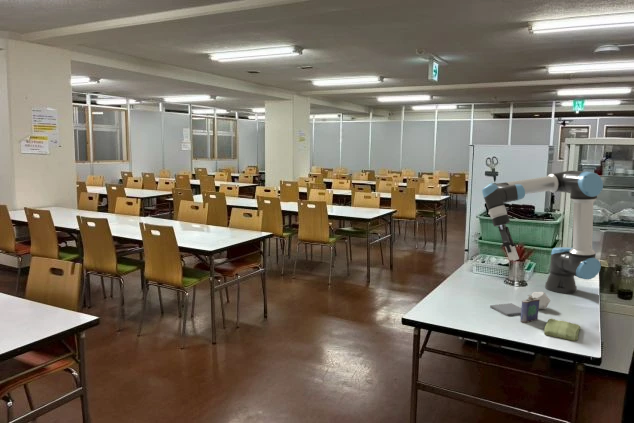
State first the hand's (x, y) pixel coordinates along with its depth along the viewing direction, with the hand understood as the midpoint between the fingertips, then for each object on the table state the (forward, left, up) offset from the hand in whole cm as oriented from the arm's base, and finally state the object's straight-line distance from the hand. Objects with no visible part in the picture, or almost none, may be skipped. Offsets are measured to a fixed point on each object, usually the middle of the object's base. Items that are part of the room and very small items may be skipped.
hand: (514, 259), depth 215 cm
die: (-15, +1, -25) cm, 29 cm away
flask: (+1, +13, -25) cm, 28 cm away
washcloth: (-3, +27, -25) cm, 37 cm away
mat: (+1, 0, -24) cm, 24 cm away
